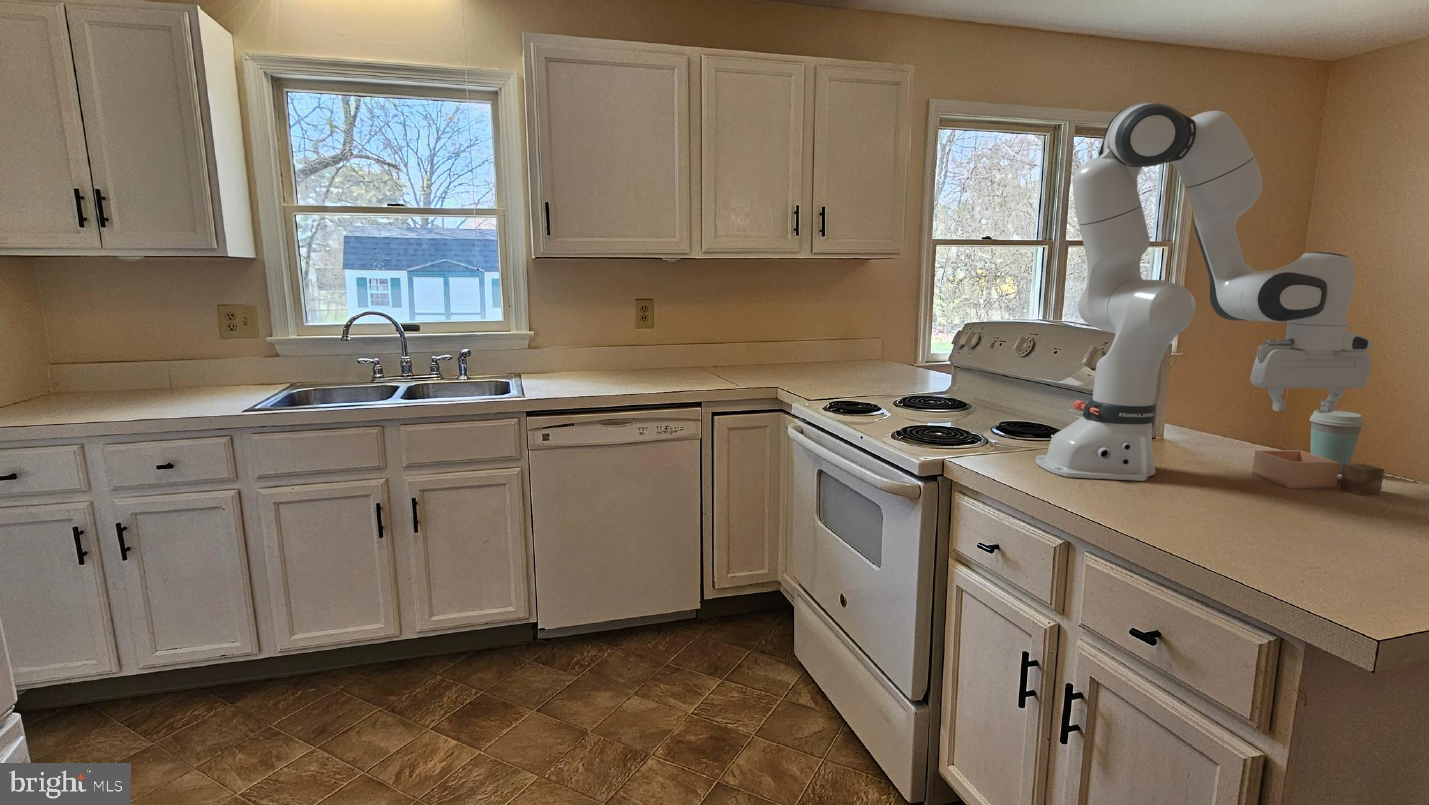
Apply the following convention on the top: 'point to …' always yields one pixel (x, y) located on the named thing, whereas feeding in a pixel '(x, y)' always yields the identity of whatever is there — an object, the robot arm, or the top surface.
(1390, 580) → the top surface
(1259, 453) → the pink open square tray
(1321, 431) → the coffee cup
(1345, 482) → the walnut block
